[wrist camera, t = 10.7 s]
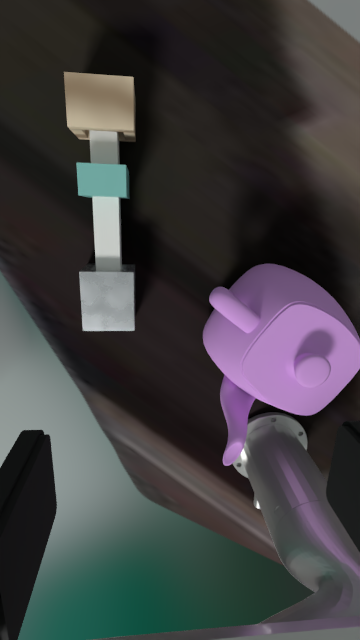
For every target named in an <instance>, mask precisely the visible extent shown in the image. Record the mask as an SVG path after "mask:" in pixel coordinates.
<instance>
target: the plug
mask: <svg viewBox="0 0 360 640" xmlns="http://www.w3.org/2000/svg"><path fill="white" fill-rule="evenodd" d="M89 132H90V153H91V163H77V179H78V195H80V196H85V197H92V198H93V218H94V239H95V261H96V270H105V271H122V250H121V206H120V198H121V199H129V171H128V168H127V166H126V165H120V162H119V132H112V131H94V130H89Z"/></svg>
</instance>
